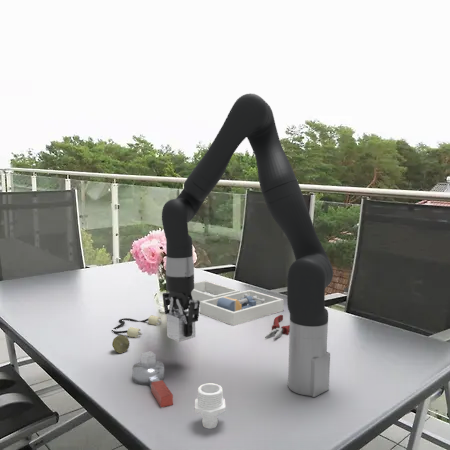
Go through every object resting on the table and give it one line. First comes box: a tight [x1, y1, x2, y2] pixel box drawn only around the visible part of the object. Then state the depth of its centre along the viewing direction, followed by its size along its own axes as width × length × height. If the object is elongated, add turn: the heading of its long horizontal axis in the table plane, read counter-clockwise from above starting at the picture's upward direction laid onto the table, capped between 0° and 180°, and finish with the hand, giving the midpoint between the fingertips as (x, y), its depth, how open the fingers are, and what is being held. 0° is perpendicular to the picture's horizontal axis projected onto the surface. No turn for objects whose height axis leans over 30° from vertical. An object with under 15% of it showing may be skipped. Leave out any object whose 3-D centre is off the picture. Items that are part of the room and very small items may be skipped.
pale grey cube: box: [166, 310, 196, 343], centre depth 124 cm, size 6×6×6 cm
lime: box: [111, 334, 130, 354], centre depth 134 cm, size 4×5×5 cm
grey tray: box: [191, 280, 241, 301], centre depth 190 cm, size 22×14×4 cm, turn 42°
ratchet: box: [132, 350, 174, 408], centre depth 112 cm, size 20×8×6 cm, turn 25°
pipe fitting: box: [194, 382, 226, 430], centre depth 96 cm, size 6×7×8 cm
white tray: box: [199, 289, 285, 327], centre depth 173 cm, size 18×26×4 cm
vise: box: [217, 294, 265, 312], centre depth 172 cm, size 18×10×7 cm, turn 134°
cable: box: [111, 315, 163, 339], centre depth 154 cm, size 16×16×4 cm
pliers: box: [264, 314, 290, 340], centre depth 153 cm, size 12×21×3 cm, turn 149°
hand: (181, 333), depth 124 cm, fingers closed on pale grey cube, 5 cm apart
